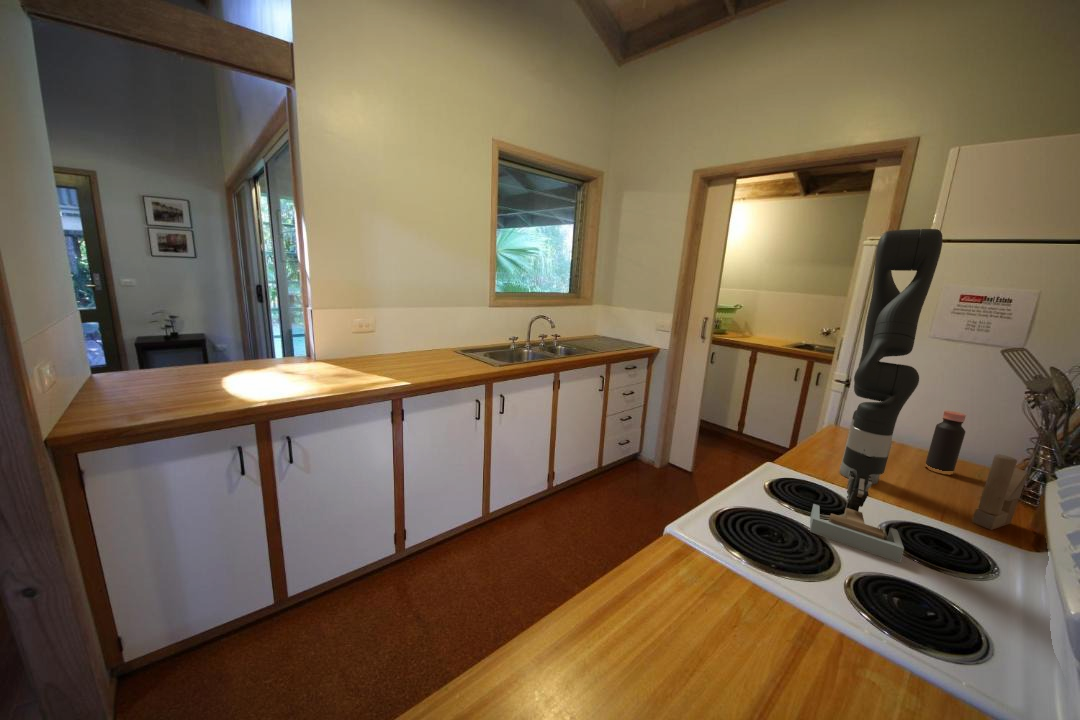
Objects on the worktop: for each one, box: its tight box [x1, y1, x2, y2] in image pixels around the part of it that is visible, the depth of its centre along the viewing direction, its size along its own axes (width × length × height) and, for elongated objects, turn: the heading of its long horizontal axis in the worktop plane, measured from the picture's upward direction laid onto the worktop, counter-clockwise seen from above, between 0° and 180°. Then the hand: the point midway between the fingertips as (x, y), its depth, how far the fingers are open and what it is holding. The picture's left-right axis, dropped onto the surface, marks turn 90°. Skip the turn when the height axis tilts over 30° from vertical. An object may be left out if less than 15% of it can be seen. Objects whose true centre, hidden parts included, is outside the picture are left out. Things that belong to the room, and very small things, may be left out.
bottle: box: [925, 410, 967, 472], centre depth 130 cm, size 7×7×20 cm
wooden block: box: [971, 453, 1029, 531], centre depth 99 cm, size 4×11×18 cm, turn 113°
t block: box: [828, 507, 885, 540], centre depth 89 cm, size 9×9×4 cm
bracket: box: [809, 503, 905, 564], centre depth 88 cm, size 8×15×3 cm, turn 55°
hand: (849, 517), depth 95 cm, fingers closed
